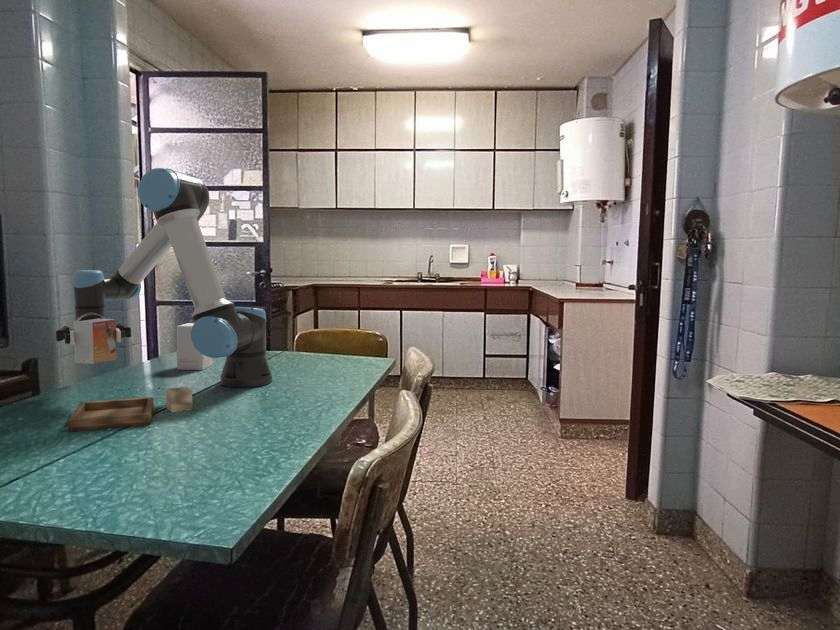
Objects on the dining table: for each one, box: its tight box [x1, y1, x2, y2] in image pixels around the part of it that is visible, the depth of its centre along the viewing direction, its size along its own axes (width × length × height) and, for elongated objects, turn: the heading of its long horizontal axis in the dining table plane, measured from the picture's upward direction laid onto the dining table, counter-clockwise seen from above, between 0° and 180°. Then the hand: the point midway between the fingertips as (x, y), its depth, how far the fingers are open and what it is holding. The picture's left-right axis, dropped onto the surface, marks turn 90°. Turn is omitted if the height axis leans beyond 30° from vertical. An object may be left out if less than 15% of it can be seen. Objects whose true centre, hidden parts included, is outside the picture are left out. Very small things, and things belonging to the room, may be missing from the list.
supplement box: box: [176, 322, 213, 371], centre depth 189 cm, size 9×9×15 cm
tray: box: [67, 396, 155, 433], centre depth 130 cm, size 16×16×2 cm
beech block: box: [165, 386, 193, 413], centre depth 139 cm, size 5×5×5 cm
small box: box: [72, 318, 118, 365], centre depth 139 cm, size 8×6×10 cm
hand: (96, 338), depth 135 cm, fingers closed on small box, 9 cm apart
